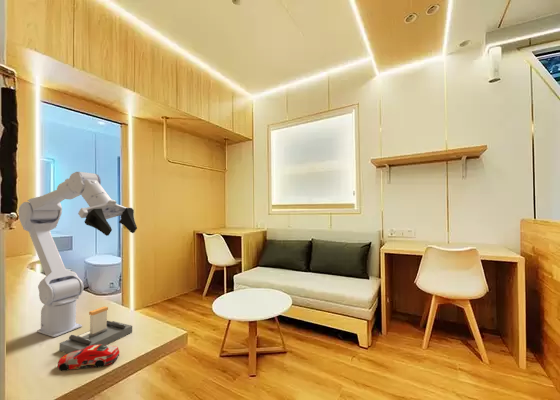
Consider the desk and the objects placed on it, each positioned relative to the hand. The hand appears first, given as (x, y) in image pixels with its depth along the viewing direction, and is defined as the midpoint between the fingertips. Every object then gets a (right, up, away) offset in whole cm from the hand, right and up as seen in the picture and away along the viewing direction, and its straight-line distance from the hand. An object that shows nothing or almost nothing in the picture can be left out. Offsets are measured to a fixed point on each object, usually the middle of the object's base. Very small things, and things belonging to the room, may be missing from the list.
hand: (122, 231), depth 74 cm
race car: (-4, -33, -8) cm, 34 cm away
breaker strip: (-9, -32, +3) cm, 34 cm away
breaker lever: (-9, -30, +3) cm, 31 cm away
